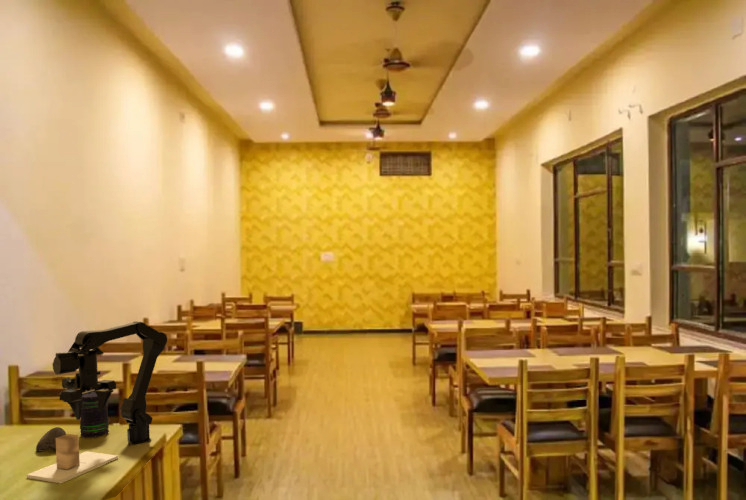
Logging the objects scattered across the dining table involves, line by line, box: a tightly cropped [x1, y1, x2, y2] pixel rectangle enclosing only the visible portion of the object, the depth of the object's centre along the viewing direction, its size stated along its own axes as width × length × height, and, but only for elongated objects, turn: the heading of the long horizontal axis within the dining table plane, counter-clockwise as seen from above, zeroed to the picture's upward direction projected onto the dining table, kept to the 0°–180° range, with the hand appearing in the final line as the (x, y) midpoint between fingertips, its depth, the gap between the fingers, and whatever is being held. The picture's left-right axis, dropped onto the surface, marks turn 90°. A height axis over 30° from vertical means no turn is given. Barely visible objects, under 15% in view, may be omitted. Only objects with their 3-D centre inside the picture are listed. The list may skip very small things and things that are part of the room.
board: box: [26, 451, 119, 484], centre depth 193 cm, size 22×14×1 cm, turn 157°
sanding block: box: [55, 433, 80, 470], centre depth 191 cm, size 4×4×10 cm
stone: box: [35, 426, 67, 452], centre depth 214 cm, size 10×8×10 cm
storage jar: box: [79, 391, 110, 439], centre depth 230 cm, size 10×10×15 cm
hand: (89, 415), depth 206 cm, fingers open, 9 cm apart
